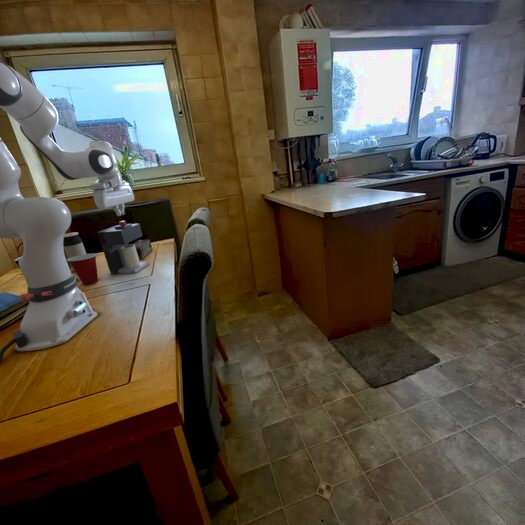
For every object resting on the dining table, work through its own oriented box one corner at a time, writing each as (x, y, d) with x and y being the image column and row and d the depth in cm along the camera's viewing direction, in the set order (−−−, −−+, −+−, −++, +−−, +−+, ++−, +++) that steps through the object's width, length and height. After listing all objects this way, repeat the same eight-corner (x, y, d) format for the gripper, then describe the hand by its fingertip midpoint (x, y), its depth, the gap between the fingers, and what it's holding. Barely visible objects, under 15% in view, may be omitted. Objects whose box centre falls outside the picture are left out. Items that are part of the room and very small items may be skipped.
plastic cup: (109, 275, 126) (101, 250, 121) (94, 286, 115) (84, 259, 111) (88, 277, 127) (79, 252, 123) (70, 287, 117) (60, 261, 113)
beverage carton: (153, 248, 161) (150, 237, 159) (143, 259, 143) (139, 247, 141) (139, 250, 161) (136, 239, 158) (127, 261, 143) (123, 249, 140)
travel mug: (82, 271, 136) (69, 236, 129) (68, 272, 137) (55, 237, 131) (94, 265, 143) (82, 231, 137) (81, 266, 144) (68, 232, 138)
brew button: (123, 225, 122) (122, 221, 122) (118, 225, 123) (117, 222, 122) (127, 224, 124) (126, 220, 124) (122, 224, 125) (121, 220, 124)
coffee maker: (133, 274, 124) (120, 228, 117) (110, 274, 127) (96, 230, 120) (150, 263, 136) (138, 221, 129) (129, 264, 139) (116, 222, 131)
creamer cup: (137, 267, 128) (132, 247, 125) (124, 268, 128) (118, 249, 124) (141, 262, 134) (136, 243, 130) (129, 264, 133) (123, 245, 130)
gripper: (121, 180, 127) (129, 210, 132) (86, 186, 109) (98, 220, 114) (133, 179, 126) (141, 210, 131) (100, 184, 107) (111, 219, 112)
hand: (120, 215), depth 122 cm, fingers closed
